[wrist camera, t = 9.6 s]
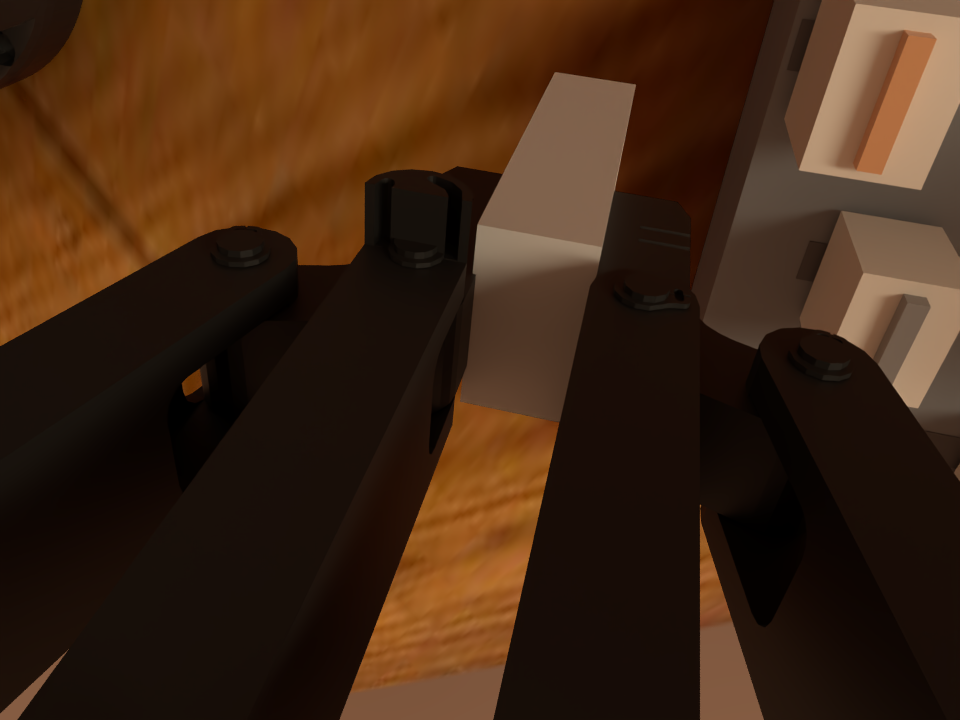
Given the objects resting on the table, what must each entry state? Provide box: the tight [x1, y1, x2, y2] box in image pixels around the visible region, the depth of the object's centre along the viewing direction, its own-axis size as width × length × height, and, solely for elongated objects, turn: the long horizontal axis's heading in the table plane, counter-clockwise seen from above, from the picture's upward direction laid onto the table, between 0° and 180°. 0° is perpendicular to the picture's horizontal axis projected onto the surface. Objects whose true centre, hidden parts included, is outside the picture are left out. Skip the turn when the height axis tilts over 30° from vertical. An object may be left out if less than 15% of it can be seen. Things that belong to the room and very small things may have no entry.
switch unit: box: [691, 0, 960, 472], centre depth 28 cm, size 14×22×5 cm, turn 174°
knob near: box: [784, 0, 960, 190], centre depth 21 cm, size 3×4×4 cm
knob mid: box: [800, 211, 960, 408], centre depth 24 cm, size 3×4×4 cm
